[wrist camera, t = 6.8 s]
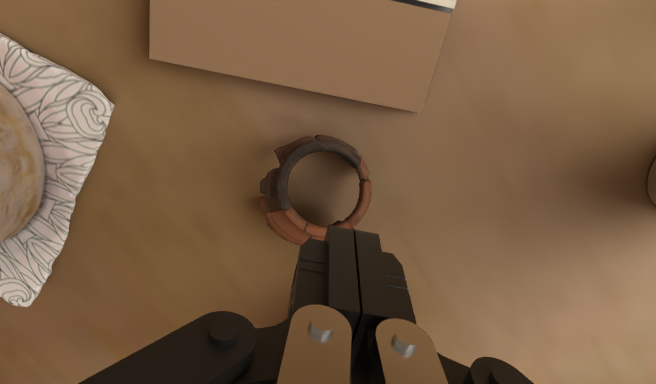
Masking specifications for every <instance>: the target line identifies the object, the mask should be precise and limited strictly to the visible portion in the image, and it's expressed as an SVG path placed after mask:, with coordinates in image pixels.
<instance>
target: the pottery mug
mask: <svg viewBox="0 0 656 384" xmlns="http://www.w3.org/2000/svg"><path fill="white" fill-rule="evenodd" d="M323 151H325V152H331V153H334V154H337V155H339V156H341V157H342V158H343V159H345V160H346V161H348V162H349V163H350V164H351V166H352V167H354V168H355V169H356V171H357V173H358V176H359V179H360V183H359V186H360V193H359V199H358V202H357V205H356V207H355V209H354V210H353V212H352V213H351V214H350V215H349V216H348V217H347V218H346V219H345V220H344V221H342V222H341V221H337V222H335V223H333V224H331V225H332V226H338V227H343V228H348V229H353V227H354V226H356V225H357V224H358V222H359V221H360V220H361V218H362V217H363V216H364V214H365V213H366V211H367V209H368V206H369V203H370V199H371V194H372V193H371V181H370V180H369V179H368V173H369V172H368V169H367V166H366V164H365V162H364V160H363V159H362V157H361V156H360V155H359V154H358V153H357V151H356V149H355V148H353V147H352V146H350V145H349V144H347V143H345V142H343V141H341V140H339V139H336V138H333V137H329V136H323V135H316V136H315V138H313V137H310V136H307V137H304V138H301V139H299V140H297V141H294V142H293V143H290V144H288V145H285V146H282V147H279V148H277V149H275V150H274V152H275V153H276V155H277V158H278V160H279V163H280V167H279V168H275V169H272V170H271V171H269V172H268V174H267V175H266V177H265V178H263V179H262V180H261V182H260V192H261V193H262V194H265V195H266V196H267V197H268V198H269V199H270V200H272V201H273V202H274V203H275V204H276V205H278V206H279V207H280V208H281V209H279V210H276V211H272V210H271V209H270V207H269V205H268V203H267V200H266V197H264V196H263V197H261V198H260V199H259V204H260V208H261V210H262V212H263V214H264V216H265V219H266V220H267V222H268V225H269V227H270V228H271V229H272V230H273V231H274V232H275V233H276V234H277V235H279V236H280V237H281V238H283V239H285V240H287V241H290V242H293V243H295V244H297V245H300V246H302V245H303V244H304V243H305V242H306V241H307V239H308V238H311V239H317V240H322V241H324V238H325V235H326V231H327V228H328V226H319V225H315V224H312V223H309V222H307V221H306V220H304V219H303V218H302V217H301V216H299V215H298V214H297V212H296V211H295V210H294V208H293V207H292V206H291V204H290V201H289V198H288V193H287V183H288V178H289V175H290V172H291V170H292V167H293V166H294V165H295V164H296V163H297V162H298V161H299V160H300V159H301V158H302V157H304V156H306V155H308V154H311V153H314V152H323ZM353 230H355V229H353Z"/></svg>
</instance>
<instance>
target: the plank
mask: <svg viewBox="0 0 656 384" xmlns="http://www.w3.org/2000/svg"><path fill="white" fill-rule="evenodd" d="M418 1H422V2H427V3H431V4H436V5H440V6H444V7H449V8H453V9H454V7H455V4H456V1H457V0H418Z"/></svg>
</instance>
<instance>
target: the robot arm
mask: <svg viewBox="0 0 656 384" xmlns="http://www.w3.org/2000/svg"><path fill="white" fill-rule="evenodd" d="M648 193H649V196H650V198H651V200H652V201H653V203H654V204H655V205H656V159H655V160H654V162H653V165H652V167H651V169H650V172H649V176H648ZM78 384H534V383H533V382H531V381H530V380H529V379H528V378H527V377H525V376H524V375H523V374H522V373H521V372H519V371H518V370H517V369H516V368H514V367H513V366H511V365H510V364H508V363H506V362H504V361H502V360H499V359H496V358H492V357H481V358H478V359H476V360H475V361H474V362H473V363H472V365H471V367H470V368H469V367H467V366H464V365H462V364H460V363H458V362H455V361H453V360H451V359H448V358H446V357H444V356H442V355H441V354H439V353H437V352H436V349H435V346H434V344H433V342H432V340H431V338H430V337H429V335H428V334H427V333H426V332H425V331H424V330H423V329H422V328H420V327H419V326H417V324H416V320H415V316H414V312H413V308H412V304H411V300H410V296H409V292H408V290H407V284H406V280H405V275H404V271H403V267H402V265H401V264H400V262H399V261H398V260H397V259H396V257H395V256H394V255H393V254H391V253H386V252H382V250H381V245H380V239H379V235H378V234H374V233H369V232H364V231H359V230H353V229H348V228H343V227H338V226H332V225H328V228H327V231H326V235H325V238H324V241H322V240H317V239H311V238H308V239H307V241H306V242H305V243H304V244H303V245H302V246H301V247H300V252H299V256H298V261H297V265H296V269H295V274H294V278H293V283H292V287H291V294H290V302H289V309H288V317H287V319H286V320H285V321H283V322H282V323H280V324H278V325H275V326H272V327H266V328H257V329H255V328H254V326H253V325H252V323H251V322H250V321H249V320H248V319H246V318H245V317H243V316H241V315H239V314H236V313H233V312H227V311H217V312H212V313H208V314H206V315H203V316H201V317H199V318H198V319H196V320H194V321H192V322H190V323H188V324H187V325H185V326H183V327H181V328H179V329H177V330H176V331H174V332H172V333H170V334H168V335H166V336H165V337H163V338H161V339H159V340H157V341H155V342H154V343H152V344H150V345H148V346H146V347H144V348H142V349H141V350H139V351H137V352H135V353H133V354H131V355H130V356H128V357H126V358H124V359H122V360H120V361H119V362H117V363H115V364H113V365H111V366H109V367H108V368H106V369H104V370H102V371H100V372H98V373H97V374H95V375H93V376H91V377H89V378H87V379H86V380H84V381H82V382H80V383H78Z"/></svg>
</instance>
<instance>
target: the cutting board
mask: <svg viewBox="0 0 656 384" xmlns="http://www.w3.org/2000/svg"><path fill="white" fill-rule="evenodd" d="M452 10H453V8H449V7H444V6H440V5H436V4H431V3H427V2H422V1H418V0H150V37H149V59H152V60H157V61H162V62H167V63H172V64H177V65H182V66H187V67H192V68H197V69H202V70H207V71H212V72H217V73H222V74H227V75H232V76H237V77H242V78H247V79H252V80H257V81H262V82H267V83H272V84H277V85H282V86H287V87H292V88H297V89H302V90H307V91H312V92H317V93H322V94H327V95H332V96H337V97H342V98H347V99H351V100H356V101H361V102H366V103H371V104H376V105H381V106H386V107H391V108H396V109H401V110H406V111H411V112H416V113H422V110H423V107H424V103H425V100H426V97H427V94H428V91H429V87H430V84H431V81H432V78H433V74H434V71H435V68H436V65H437V61H438V58H439V55H440V52H441V49H442V45H443V42H444V39H445V36H446V32H447V29H448V26H449V23H450V19H451V16H452V14H451V13H452Z"/></svg>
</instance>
